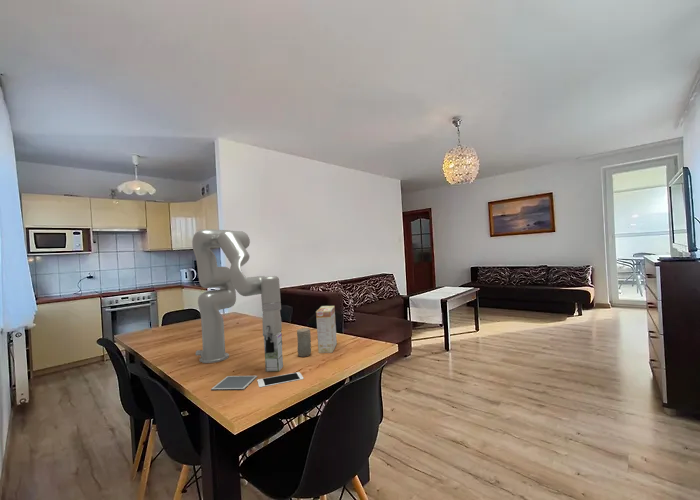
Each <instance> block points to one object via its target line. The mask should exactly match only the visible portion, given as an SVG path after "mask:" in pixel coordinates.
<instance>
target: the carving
mask: <svg viewBox="0 0 700 500" xmlns="http://www.w3.org/2000/svg"><path fill="white" fill-rule="evenodd" d="M296 335H297V336H296V337H297V354H298V356H299V357H302V358H304V357H309V356H310V355H311V353H312V348H311V347H312V341H311V338H312V336H311V335H312V334H311V330H310V328H309V327H304V328H299V329H297V330H296Z"/></svg>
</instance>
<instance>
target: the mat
mask: <svg viewBox="0 0 700 500" xmlns="http://www.w3.org/2000/svg"><path fill="white" fill-rule="evenodd" d="M257 378H258V375H227V376H225V377H224V378H222V380H221V381H218V382H217V384H216V385H214V386H213V387H212V388H211V389H210V391H245V390H246V389H247V387H248V386H250V385H251V384H252V383H253V382H254V381H255V380H256V379H257Z"/></svg>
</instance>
